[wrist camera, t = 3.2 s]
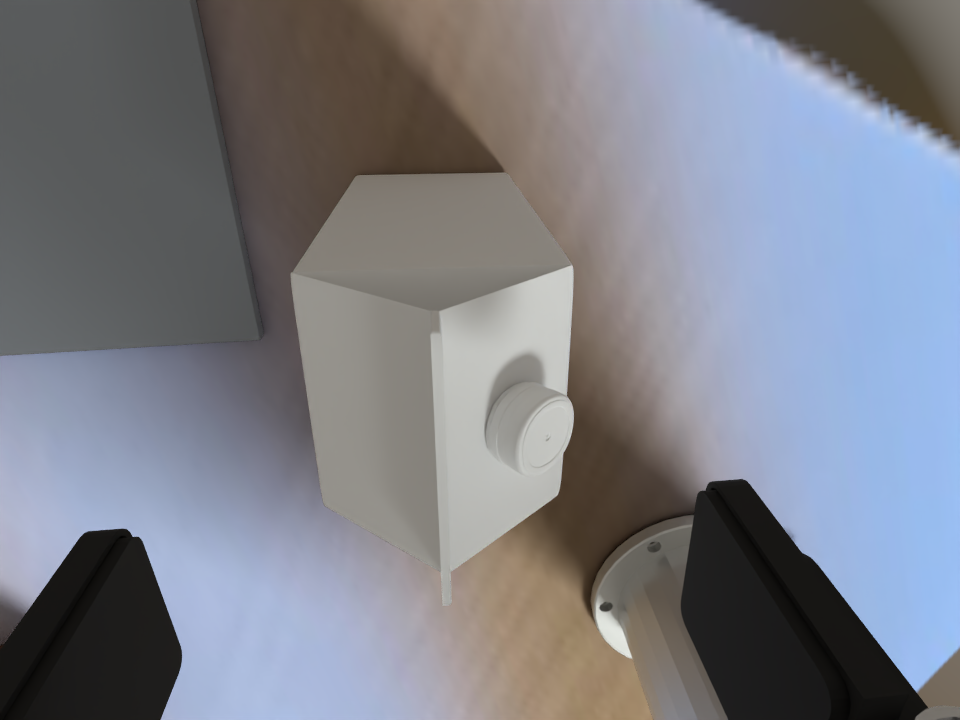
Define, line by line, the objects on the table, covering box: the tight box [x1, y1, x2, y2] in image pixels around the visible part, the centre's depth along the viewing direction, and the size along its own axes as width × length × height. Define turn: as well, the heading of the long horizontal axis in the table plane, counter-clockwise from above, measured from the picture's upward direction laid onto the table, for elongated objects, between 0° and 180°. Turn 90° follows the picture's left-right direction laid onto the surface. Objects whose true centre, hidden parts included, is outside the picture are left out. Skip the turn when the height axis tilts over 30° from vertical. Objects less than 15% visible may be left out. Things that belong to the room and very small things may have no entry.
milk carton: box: [291, 173, 574, 606], centre depth 22 cm, size 7×7×19 cm
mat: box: [0, 0, 264, 356], centre depth 27 cm, size 16×16×1 cm
